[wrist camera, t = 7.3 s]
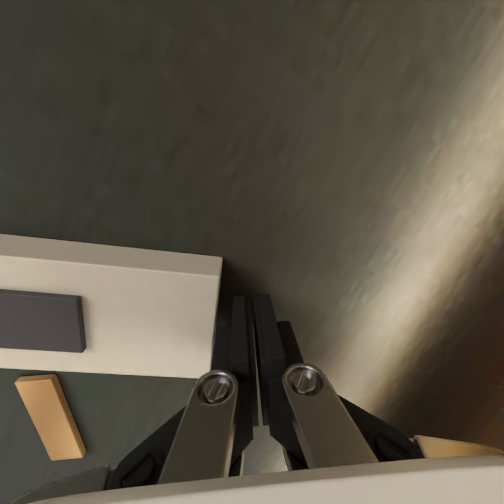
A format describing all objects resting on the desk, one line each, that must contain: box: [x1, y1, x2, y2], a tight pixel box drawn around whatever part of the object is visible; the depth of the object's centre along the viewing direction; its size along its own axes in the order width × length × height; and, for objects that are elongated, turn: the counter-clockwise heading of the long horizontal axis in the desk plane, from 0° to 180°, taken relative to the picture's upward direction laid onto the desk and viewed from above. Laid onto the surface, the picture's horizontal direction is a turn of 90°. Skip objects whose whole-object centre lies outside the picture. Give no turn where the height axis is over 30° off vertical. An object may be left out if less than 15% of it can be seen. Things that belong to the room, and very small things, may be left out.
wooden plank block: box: [15, 374, 86, 460], centre depth 13 cm, size 2×6×1 cm, turn 2°
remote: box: [0, 234, 223, 378], centre depth 10 cm, size 16×5×2 cm, turn 82°
